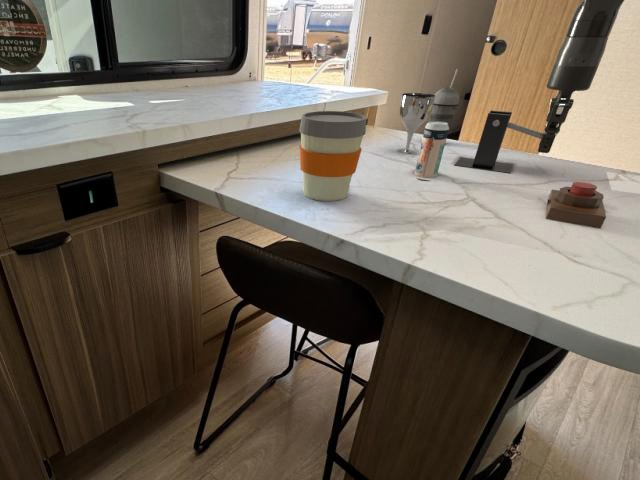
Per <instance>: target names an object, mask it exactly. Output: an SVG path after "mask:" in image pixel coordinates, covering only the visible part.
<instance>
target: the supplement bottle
mask: <svg viewBox="0 0 640 480" xmlns="http://www.w3.org/2000/svg"><path fill="white" fill-rule="evenodd" d="M449 131H450V127H448V123H446V122H439V121H431V122H429V121H428V122H427V124H426V125H425V126H424V131H423V135H422V138H421V143H420V148H419V152H418V155H417V156H418V157H417V160H416V165H415V169H414V175H415V176H417V177H419V178H417V177H416V178H415V179H416V180H418V181H420V182H431V180H430V179H431V178H433V179H434V178H436V177H438V174H439V168H440V166H441V160H442V158H443V154H444V151H445V146H446V142H447V139H448V134H449ZM423 178H424V179H423ZM425 178H426V179H425ZM428 179H429V180H428Z"/></svg>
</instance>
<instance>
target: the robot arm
mask: <svg viewBox="0 0 640 480" xmlns="http://www.w3.org/2000/svg"><path fill="white" fill-rule="evenodd" d="M624 2H625V0H582V1H581V2H580V3H579V4H578V6H577V7H576V8H575V11H574V13H573V15H572V17H571V19H570V20H571V21H570V22H569V26H568V29H567V31H566V34H565V37H564V38H563V42H562V43H561V45H560V46H559V47H560V48H559V49H558V52H557V55H556V58H555V60H554V63H553V66H552V69H551V72H550V75H549V77H548V80H547V83H546V88H547V89H548V90H553V91H558V93H557V95H556V96H555V97H552V98H551V99H550V102H549V106H548V111H547V113H546V116H545V120H544V121H545V125H544V129H543V131H542V133H543V134H544V135H543V138H542V139H540V141H539V144H538V149H537V152H538V153H541V154H548V153H550V152H551V149H552V147H553V145H554V142H555V139H556V137H557V136H558V134H559V133H560V131H561V127H562V125H563V124H564V123H565V122H566V119H567V117H568V115H569V111H570V110H571V109H572V108H573V105H574V101H575V99H573V98H572V95H573V94H574V92H584V91H588V90H589V89H590V88H591V85H592V83H593V81H594V79H595V76H596V74H597V71H598V68H599V66H600V64H601V61H602V58H603V56H604V53H605V51H606V48H607V44H608V40H609V37H610V35H611V32H612V30H613V27H614V25H615V23H616V21H617V18H618V15H619V12H620V9H621V7H622V5H623V4H624Z"/></svg>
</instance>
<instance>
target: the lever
mask: <svg viewBox="0 0 640 480" xmlns="http://www.w3.org/2000/svg"><path fill="white" fill-rule="evenodd" d="M507 129H510V130H513V131H516V132H518V133H519V132H520V133H521V134H525V135H527V136H531V137H534V138H537V139H539V140H541V139H542V138H543V135H544V134H543V133H544V132H540V131H537V130H534V129H532V128H528V127H525V126H522V125H519V124H516V123H513V122H511V121H509V122H508V124H507Z"/></svg>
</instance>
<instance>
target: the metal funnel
mask: <svg viewBox="0 0 640 480" xmlns="http://www.w3.org/2000/svg"><path fill="white" fill-rule="evenodd" d="M435 97H436V96H435V94H433V93H432V94H431V93H424V92H423V93H422V92H405V93H402V94H401V97H400V104H399V118H400V121H401V123H402V124H403V126H404V128H405V130H406V133H407V137H406V146H405V150H404V151H403V152H402V153H403V154H406V155H409V154H410V151H409V150H410V145H411V143H412V139H413V137H414V135H415V133H416V131H417V130H418V129H419V128H420V127H422V126H423V125H424V124H425V123H426V122H427V121H428V120H429V117H430V113H431V111H432V108H433V105H434V101H435Z"/></svg>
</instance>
